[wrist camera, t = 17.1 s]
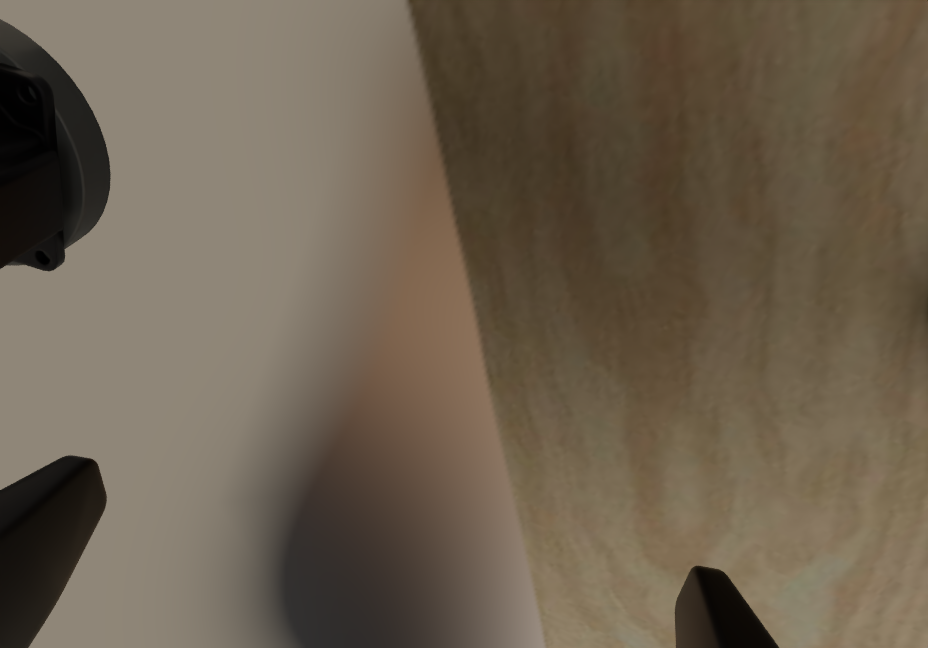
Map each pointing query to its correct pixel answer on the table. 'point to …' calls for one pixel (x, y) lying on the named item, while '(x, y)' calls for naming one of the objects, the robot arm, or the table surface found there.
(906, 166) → the table surface
